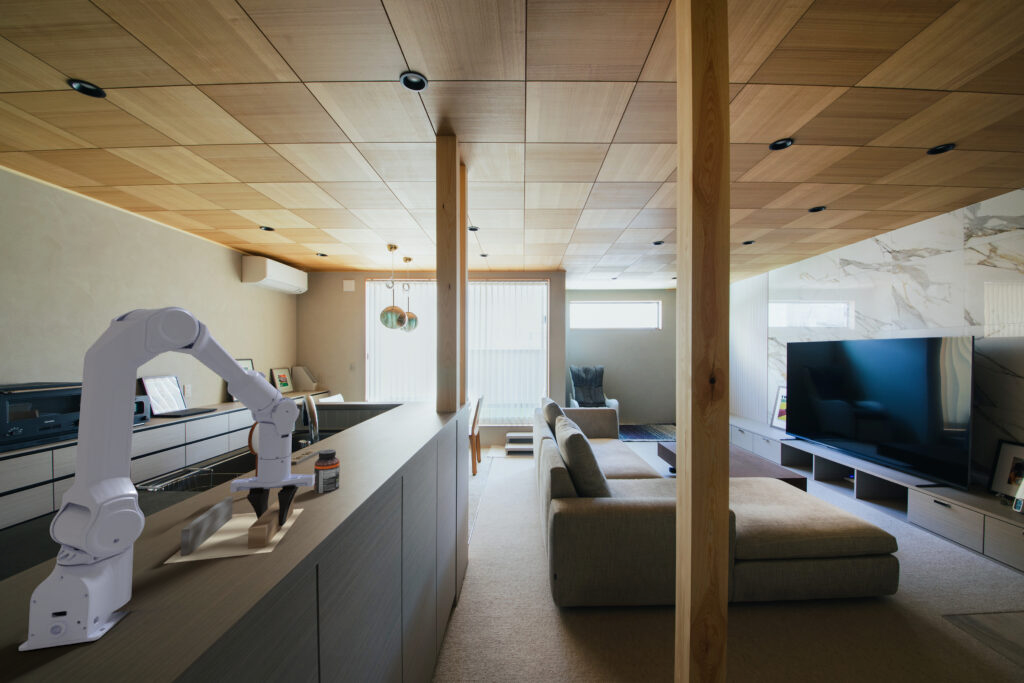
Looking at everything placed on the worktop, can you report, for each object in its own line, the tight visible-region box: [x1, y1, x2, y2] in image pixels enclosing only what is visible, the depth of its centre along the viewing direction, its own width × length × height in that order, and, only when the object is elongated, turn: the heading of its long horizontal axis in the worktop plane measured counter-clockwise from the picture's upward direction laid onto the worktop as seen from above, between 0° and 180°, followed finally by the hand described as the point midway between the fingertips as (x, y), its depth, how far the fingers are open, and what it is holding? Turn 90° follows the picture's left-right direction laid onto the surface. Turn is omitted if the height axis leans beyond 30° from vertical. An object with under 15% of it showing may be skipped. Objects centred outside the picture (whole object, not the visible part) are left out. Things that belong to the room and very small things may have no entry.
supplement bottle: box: [313, 449, 341, 494], centre depth 100 cm, size 6×6×11 cm
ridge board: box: [163, 496, 304, 565], centre depth 75 cm, size 20×16×6 cm
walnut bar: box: [248, 498, 295, 549], centre depth 77 cm, size 16×3×4 cm, turn 14°
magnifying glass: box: [247, 421, 259, 477], centre depth 97 cm, size 9×2×20 cm, turn 5°
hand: (273, 524), depth 76 cm, fingers closed on walnut bar, 3 cm apart
